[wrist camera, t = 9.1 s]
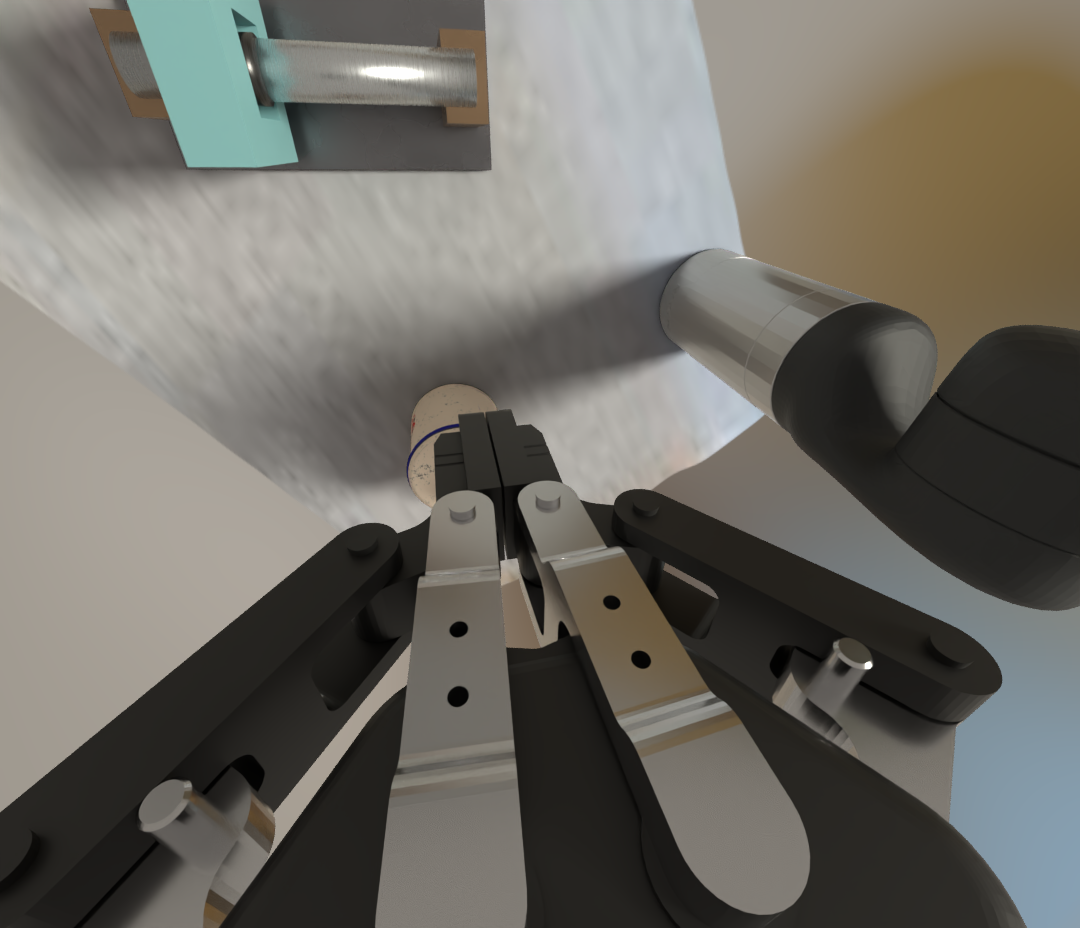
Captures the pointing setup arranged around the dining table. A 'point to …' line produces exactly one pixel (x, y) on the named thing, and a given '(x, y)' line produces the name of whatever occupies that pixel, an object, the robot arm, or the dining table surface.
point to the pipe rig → (350, 80)
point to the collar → (212, 82)
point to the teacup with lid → (438, 431)
